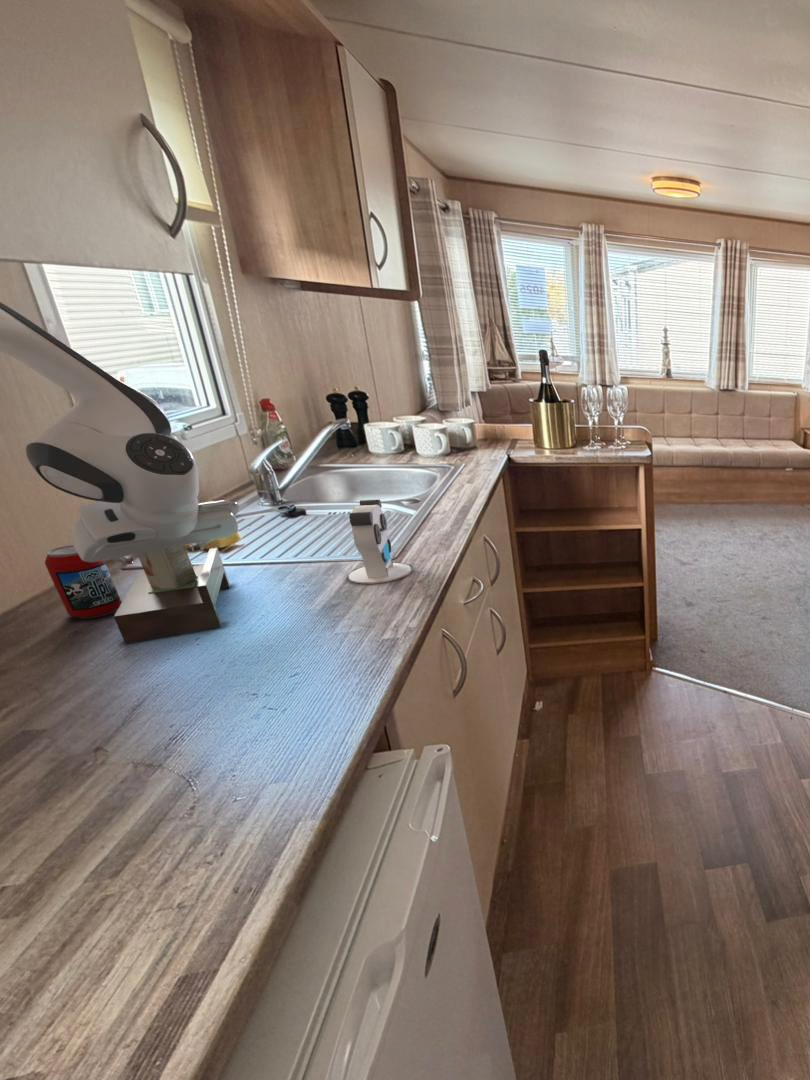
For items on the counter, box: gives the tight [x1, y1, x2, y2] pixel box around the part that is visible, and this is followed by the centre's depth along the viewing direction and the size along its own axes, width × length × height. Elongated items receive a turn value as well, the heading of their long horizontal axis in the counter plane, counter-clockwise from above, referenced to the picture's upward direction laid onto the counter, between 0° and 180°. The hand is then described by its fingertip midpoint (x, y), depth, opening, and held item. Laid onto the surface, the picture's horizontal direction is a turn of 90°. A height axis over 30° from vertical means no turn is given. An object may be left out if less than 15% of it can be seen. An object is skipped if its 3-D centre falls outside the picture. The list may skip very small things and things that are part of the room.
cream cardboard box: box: [136, 545, 197, 589], centre depth 112 cm, size 5×4×10 cm
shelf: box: [113, 547, 231, 645], centre depth 114 cm, size 12×22×8 cm, turn 36°
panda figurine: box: [348, 499, 412, 585], centre depth 132 cm, size 12×11×15 cm
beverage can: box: [44, 544, 122, 619], centre depth 111 cm, size 7×7×12 cm
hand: (161, 554), depth 112 cm, fingers open, 8 cm apart
